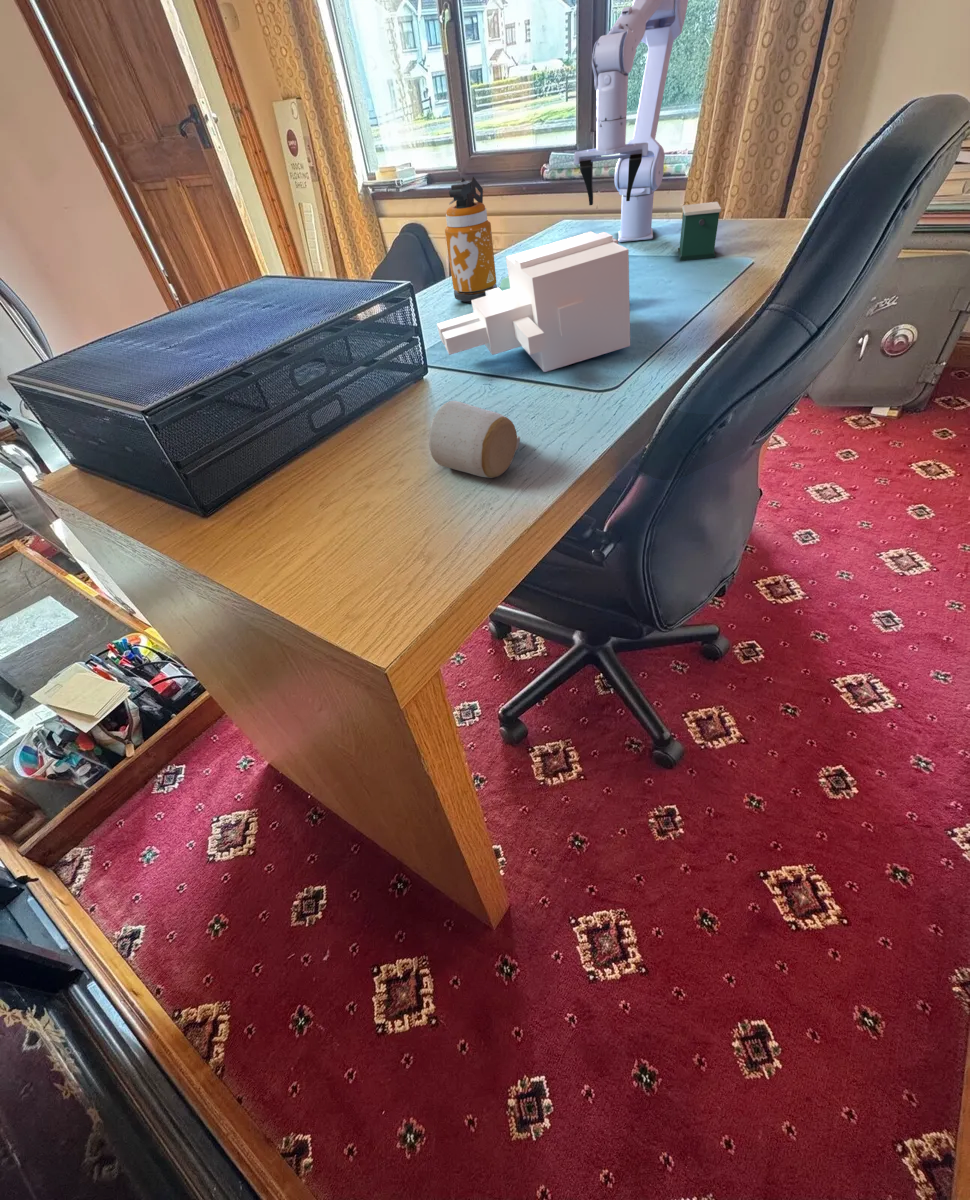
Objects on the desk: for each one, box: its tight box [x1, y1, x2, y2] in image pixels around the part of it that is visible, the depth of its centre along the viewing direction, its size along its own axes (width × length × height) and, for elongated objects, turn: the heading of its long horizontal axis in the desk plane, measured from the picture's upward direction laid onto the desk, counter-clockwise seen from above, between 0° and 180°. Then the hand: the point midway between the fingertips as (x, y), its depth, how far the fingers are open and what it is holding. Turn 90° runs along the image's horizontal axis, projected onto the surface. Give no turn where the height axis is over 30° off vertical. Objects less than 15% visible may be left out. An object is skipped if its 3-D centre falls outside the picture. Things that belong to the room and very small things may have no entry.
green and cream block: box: [677, 201, 722, 262], centre depth 117 cm, size 9×8×7 cm
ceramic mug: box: [428, 400, 521, 479], centre depth 66 cm, size 11×8×8 cm
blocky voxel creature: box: [436, 230, 631, 373], centre depth 87 cm, size 15×25×28 cm
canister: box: [444, 176, 498, 304], centre depth 111 cm, size 9×11×20 cm
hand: (609, 202), depth 120 cm, fingers open, 7 cm apart
